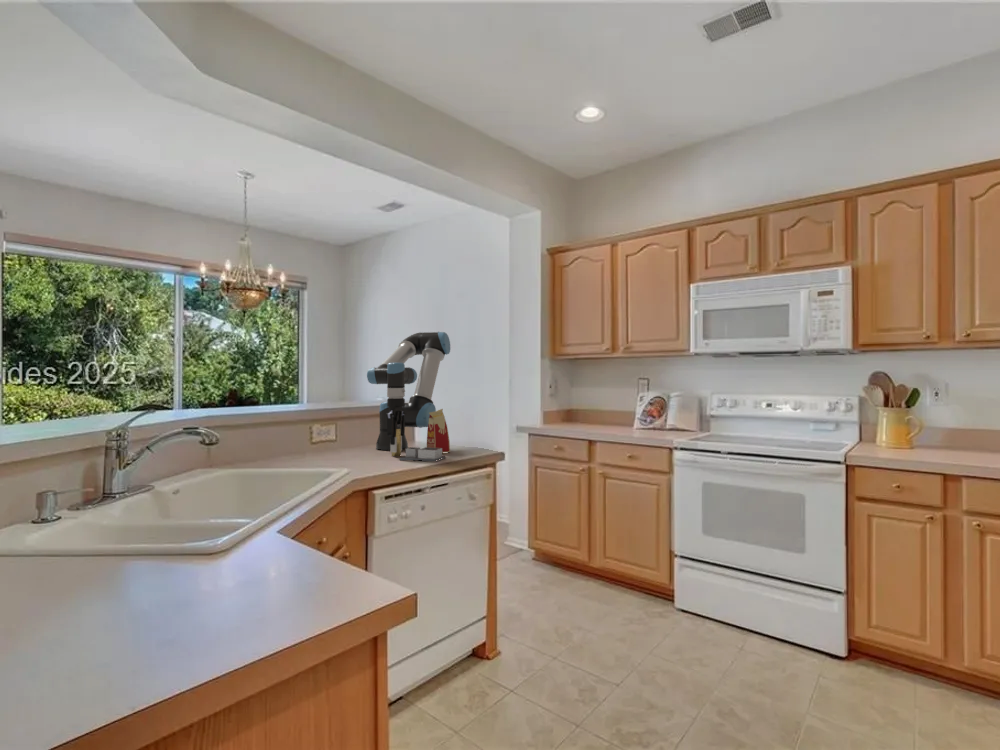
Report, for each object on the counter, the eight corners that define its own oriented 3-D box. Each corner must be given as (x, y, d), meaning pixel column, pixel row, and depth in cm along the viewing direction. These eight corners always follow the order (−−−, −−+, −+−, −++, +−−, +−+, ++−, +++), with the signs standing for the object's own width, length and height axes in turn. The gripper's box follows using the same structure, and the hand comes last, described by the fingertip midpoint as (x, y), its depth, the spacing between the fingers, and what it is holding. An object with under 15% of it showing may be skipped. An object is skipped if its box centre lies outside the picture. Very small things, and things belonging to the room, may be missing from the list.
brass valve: (394, 455, 227) (394, 423, 228) (402, 455, 226) (402, 423, 226) (389, 456, 224) (389, 424, 224) (398, 457, 222) (398, 424, 223)
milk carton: (442, 450, 242) (442, 408, 242) (450, 453, 234) (450, 408, 234) (424, 452, 237) (424, 408, 237) (432, 454, 229) (432, 409, 229)
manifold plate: (410, 456, 223) (410, 446, 223) (445, 458, 218) (445, 447, 218) (399, 460, 213) (399, 449, 213) (435, 461, 209) (435, 450, 209)
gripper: (394, 398, 216) (394, 454, 216) (412, 397, 232) (412, 449, 232) (378, 398, 218) (378, 453, 218) (397, 397, 234) (397, 448, 234)
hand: (396, 451), depth 225 cm, fingers closed on brass valve, 4 cm apart
